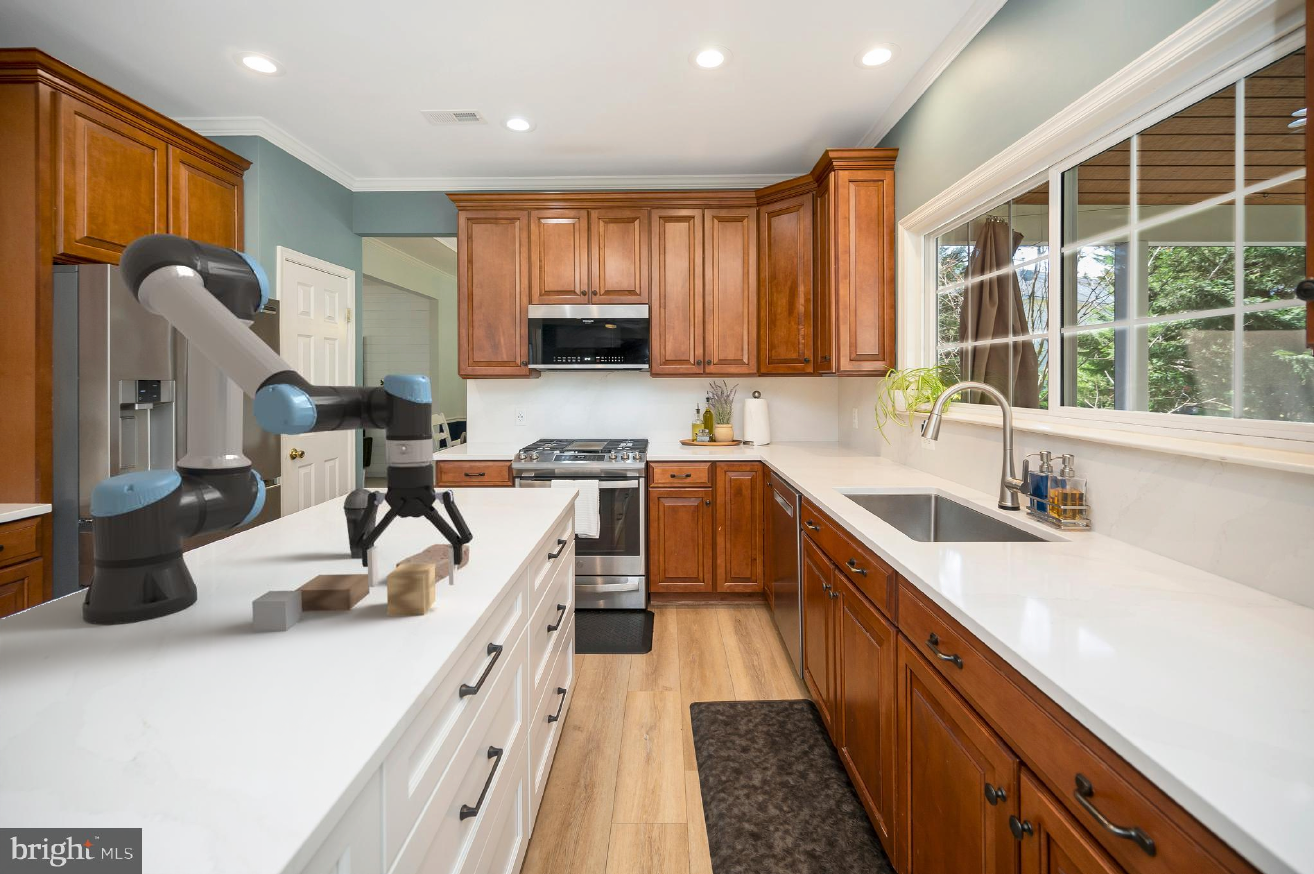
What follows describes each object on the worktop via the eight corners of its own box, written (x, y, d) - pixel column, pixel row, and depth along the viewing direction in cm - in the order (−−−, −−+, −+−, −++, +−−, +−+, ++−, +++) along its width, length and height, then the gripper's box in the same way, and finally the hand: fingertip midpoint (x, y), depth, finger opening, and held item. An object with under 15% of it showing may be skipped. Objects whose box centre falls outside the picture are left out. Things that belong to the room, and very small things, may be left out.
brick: (431, 588, 119) (431, 564, 118) (392, 585, 120) (392, 561, 120) (470, 565, 135) (470, 544, 135) (436, 562, 136) (435, 542, 136)
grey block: (253, 632, 96) (252, 601, 95) (270, 620, 101) (269, 590, 100) (286, 631, 96) (285, 600, 96) (302, 619, 101) (301, 590, 101)
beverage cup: (337, 559, 137) (335, 471, 135) (358, 550, 144) (356, 467, 143) (366, 560, 136) (364, 472, 134) (386, 552, 143) (384, 468, 141)
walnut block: (295, 612, 105) (294, 590, 105) (319, 595, 114) (319, 574, 113) (349, 611, 106) (348, 589, 105) (369, 594, 115) (368, 573, 114)
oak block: (387, 616, 103) (386, 575, 103) (401, 601, 110) (400, 564, 110) (423, 615, 104) (423, 575, 103) (435, 601, 111) (434, 563, 110)
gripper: (325, 467, 100) (330, 592, 102) (479, 465, 102) (481, 588, 104) (344, 462, 108) (349, 579, 109) (487, 460, 110) (489, 575, 111)
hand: (413, 583), depth 107 cm, fingers open, 13 cm apart
